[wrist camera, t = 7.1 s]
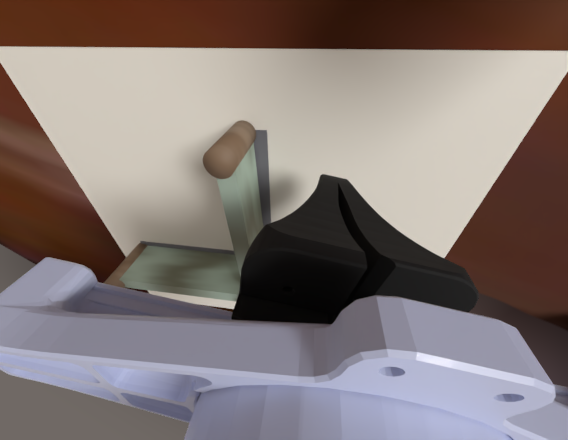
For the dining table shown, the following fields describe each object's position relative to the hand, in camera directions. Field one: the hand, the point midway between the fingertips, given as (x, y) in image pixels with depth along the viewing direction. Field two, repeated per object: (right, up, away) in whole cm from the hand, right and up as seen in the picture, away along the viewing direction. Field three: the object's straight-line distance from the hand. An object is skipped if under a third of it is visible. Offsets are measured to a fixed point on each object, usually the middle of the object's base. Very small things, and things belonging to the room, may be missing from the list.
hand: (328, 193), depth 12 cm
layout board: (-4, -2, +7) cm, 8 cm away
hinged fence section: (-4, 0, +4) cm, 6 cm away
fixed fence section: (-10, -4, +9) cm, 14 cm away
